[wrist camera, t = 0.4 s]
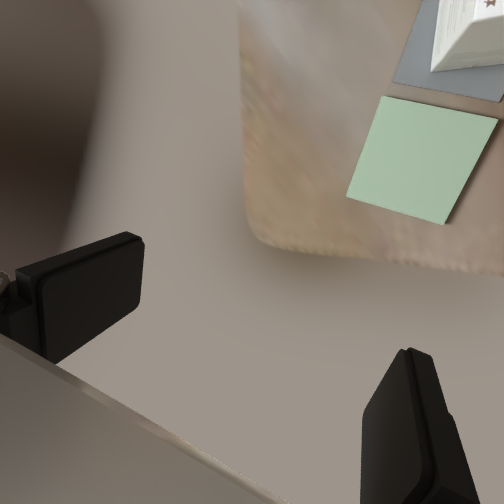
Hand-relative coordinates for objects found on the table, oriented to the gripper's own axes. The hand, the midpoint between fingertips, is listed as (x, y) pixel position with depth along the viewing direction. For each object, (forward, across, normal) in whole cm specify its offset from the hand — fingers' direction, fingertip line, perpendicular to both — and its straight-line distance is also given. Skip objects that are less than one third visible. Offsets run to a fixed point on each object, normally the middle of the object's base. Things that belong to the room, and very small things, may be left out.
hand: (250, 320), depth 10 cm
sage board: (+30, -7, -6) cm, 31 cm away
